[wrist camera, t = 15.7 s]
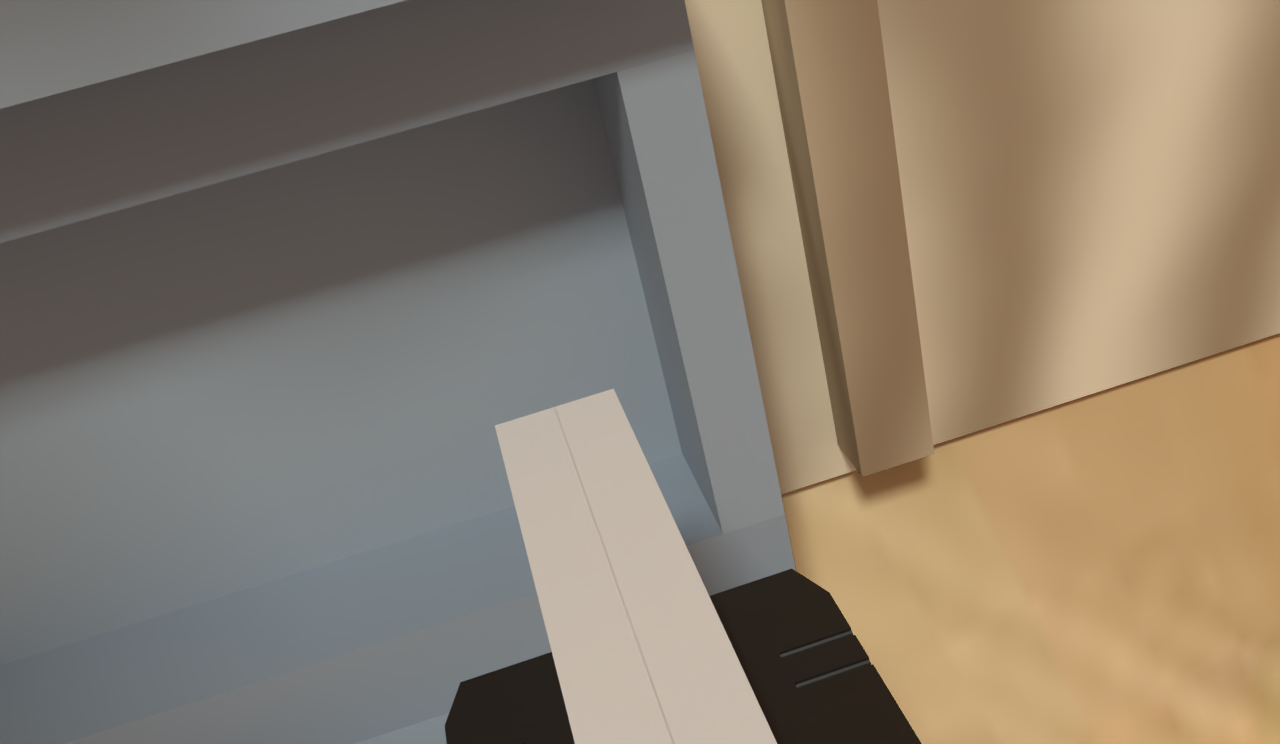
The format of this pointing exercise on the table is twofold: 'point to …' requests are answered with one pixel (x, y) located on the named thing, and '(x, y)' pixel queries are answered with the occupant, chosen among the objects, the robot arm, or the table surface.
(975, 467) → the table surface
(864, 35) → the lid
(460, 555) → the pencil box
